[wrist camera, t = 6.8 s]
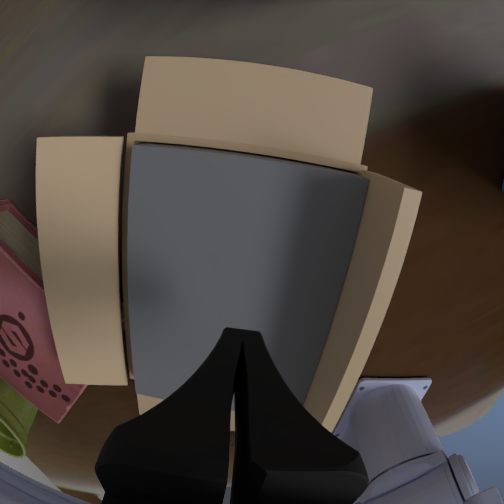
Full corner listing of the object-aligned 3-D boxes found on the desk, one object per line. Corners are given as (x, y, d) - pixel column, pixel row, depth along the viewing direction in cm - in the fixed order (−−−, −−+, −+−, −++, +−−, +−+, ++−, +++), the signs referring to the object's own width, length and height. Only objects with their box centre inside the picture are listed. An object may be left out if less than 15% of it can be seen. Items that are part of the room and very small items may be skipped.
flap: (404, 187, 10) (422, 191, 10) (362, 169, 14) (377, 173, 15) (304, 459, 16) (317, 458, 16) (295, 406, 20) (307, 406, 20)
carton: (284, 396, 26) (289, 452, 21) (148, 376, 26) (128, 428, 20) (354, 97, 18) (393, 86, 12) (163, 70, 17) (125, 49, 11)
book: (5, 192, 20) (-35, 208, 16) (138, 310, 24) (115, 349, 19) (-26, 299, 24) (-53, 322, 20) (77, 390, 28) (58, 423, 23)
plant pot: (-17, 347, 26) (-56, 391, 18) (24, 338, 25) (-22, 392, 17) (25, 406, 30) (-4, 452, 22) (72, 405, 28) (42, 463, 20)
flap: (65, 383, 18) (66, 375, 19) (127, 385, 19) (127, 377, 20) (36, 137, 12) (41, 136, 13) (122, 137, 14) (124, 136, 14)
